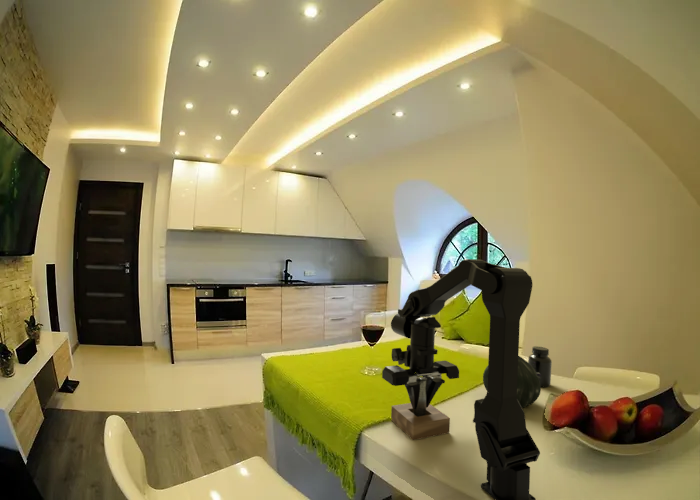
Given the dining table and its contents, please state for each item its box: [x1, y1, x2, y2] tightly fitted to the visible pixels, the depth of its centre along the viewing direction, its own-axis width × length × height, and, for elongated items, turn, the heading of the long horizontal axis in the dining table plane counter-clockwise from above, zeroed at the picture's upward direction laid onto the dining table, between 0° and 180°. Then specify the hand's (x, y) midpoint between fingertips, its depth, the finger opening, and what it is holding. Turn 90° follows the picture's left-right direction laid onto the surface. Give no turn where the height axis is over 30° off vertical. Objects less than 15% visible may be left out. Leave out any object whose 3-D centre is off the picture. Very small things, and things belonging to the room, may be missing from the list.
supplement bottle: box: [527, 345, 552, 388], centre depth 118 cm, size 7×7×12 cm
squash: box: [482, 355, 542, 409], centre depth 102 cm, size 14×15×15 cm
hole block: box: [390, 402, 451, 441], centre depth 86 cm, size 10×10×4 cm
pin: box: [413, 376, 427, 417], centre depth 86 cm, size 3×3×9 cm
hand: (420, 407), depth 86 cm, fingers closed on pin, 3 cm apart
